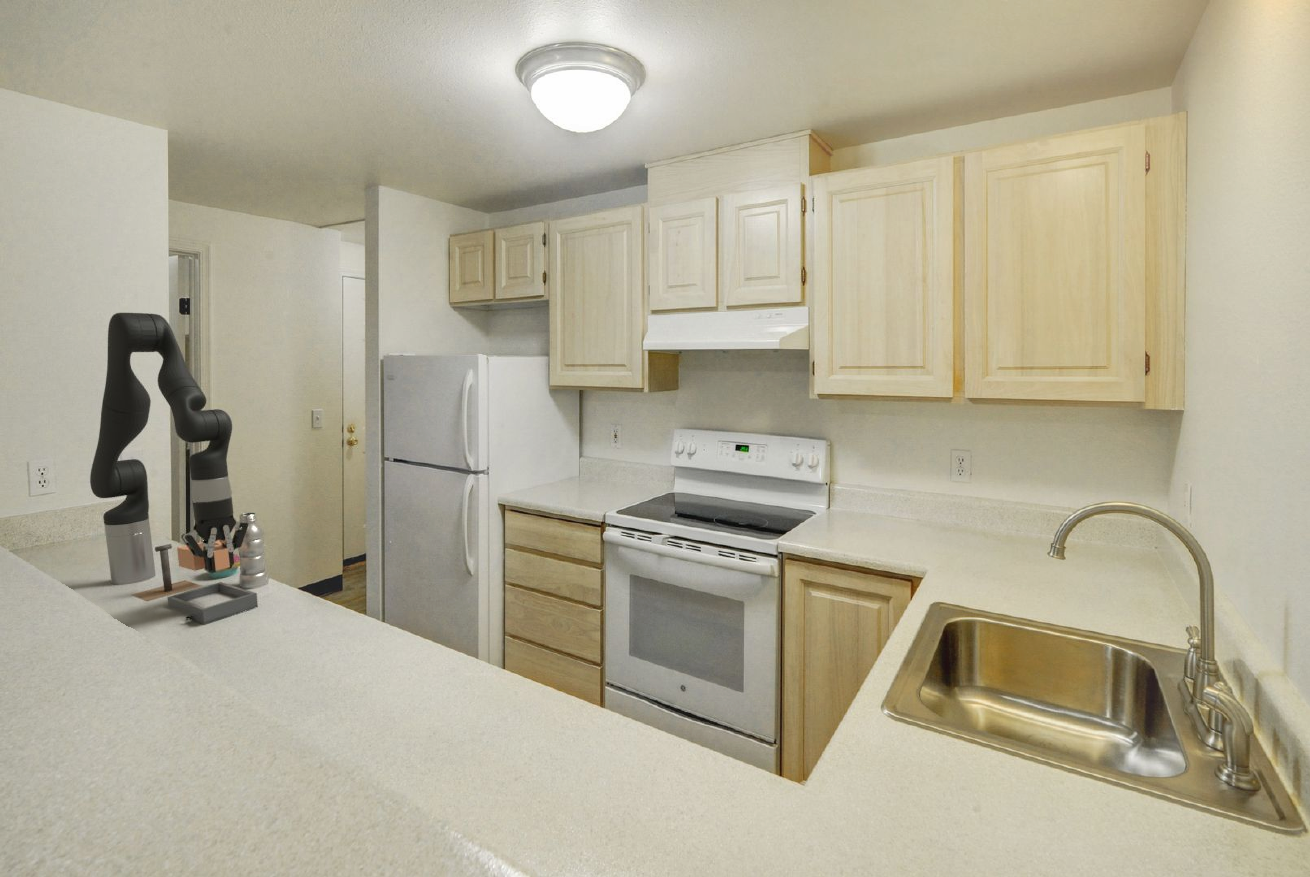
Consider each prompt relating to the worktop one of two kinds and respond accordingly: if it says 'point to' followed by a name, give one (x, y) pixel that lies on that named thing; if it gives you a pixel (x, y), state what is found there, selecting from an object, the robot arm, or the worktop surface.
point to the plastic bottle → (252, 555)
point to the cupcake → (226, 571)
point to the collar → (197, 562)
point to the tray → (217, 611)
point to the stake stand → (165, 580)
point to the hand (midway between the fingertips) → (220, 569)
